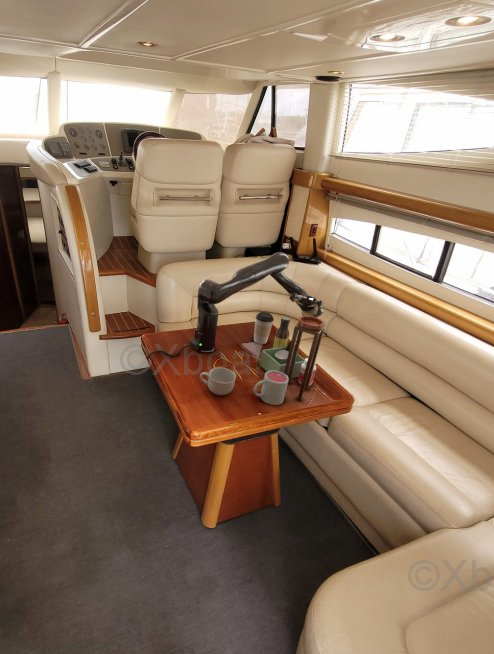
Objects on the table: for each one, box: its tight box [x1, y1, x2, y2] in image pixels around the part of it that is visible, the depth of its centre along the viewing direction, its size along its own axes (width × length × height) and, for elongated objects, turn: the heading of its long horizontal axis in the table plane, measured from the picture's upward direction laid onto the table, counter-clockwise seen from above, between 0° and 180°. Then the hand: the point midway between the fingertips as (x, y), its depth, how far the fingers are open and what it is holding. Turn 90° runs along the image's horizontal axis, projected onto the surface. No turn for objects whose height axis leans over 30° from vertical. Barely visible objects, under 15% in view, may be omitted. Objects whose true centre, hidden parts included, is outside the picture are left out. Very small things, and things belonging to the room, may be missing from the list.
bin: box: [258, 347, 306, 379], centre depth 172 cm, size 14×14×8 cm
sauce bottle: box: [272, 316, 291, 349], centre depth 180 cm, size 6×6×20 cm
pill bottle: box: [297, 357, 317, 387], centre depth 163 cm, size 6×6×11 cm
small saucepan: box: [275, 339, 292, 365], centre depth 176 cm, size 17×6×6 cm, turn 148°
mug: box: [253, 371, 289, 406], centre depth 151 cm, size 14×9×10 cm
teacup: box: [199, 366, 237, 396], centre depth 153 cm, size 14×11×8 cm
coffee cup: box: [253, 311, 275, 345], centre depth 195 cm, size 9×9×15 cm
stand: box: [284, 315, 327, 401], centre depth 152 cm, size 10×9×32 cm
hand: (304, 297), depth 167 cm, fingers open, 8 cm apart
